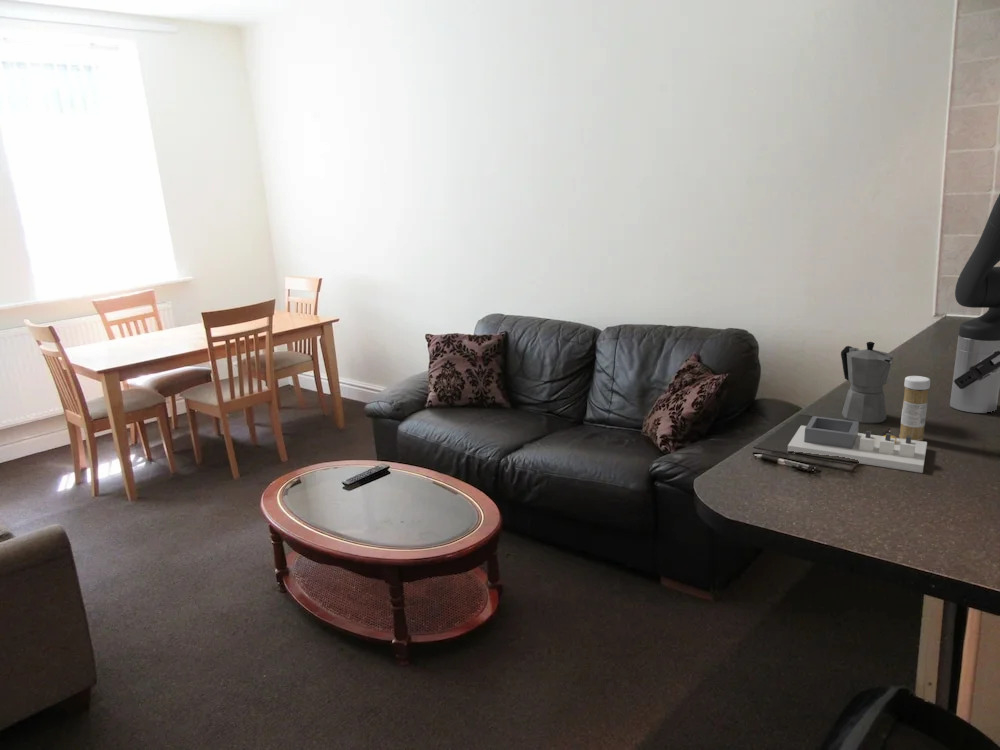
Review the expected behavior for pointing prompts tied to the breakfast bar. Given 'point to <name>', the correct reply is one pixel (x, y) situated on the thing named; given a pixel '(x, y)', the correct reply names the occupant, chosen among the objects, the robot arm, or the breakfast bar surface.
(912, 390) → the sprinkles bottle
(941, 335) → the breakfast bar surface
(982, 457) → the breakfast bar surface
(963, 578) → the breakfast bar surface
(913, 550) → the breakfast bar surface
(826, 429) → the breaker panel
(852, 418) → the coffeepot
